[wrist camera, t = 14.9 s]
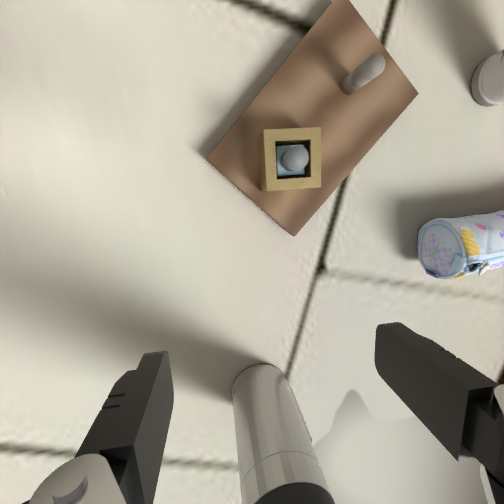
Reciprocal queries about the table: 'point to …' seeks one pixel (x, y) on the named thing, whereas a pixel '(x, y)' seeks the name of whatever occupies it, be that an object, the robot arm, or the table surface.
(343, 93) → the workboard
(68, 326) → the table surface
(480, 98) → the travel mug
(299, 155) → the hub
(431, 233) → the pencil case
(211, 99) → the table surface
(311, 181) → the collar
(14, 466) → the table surface
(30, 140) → the table surface
